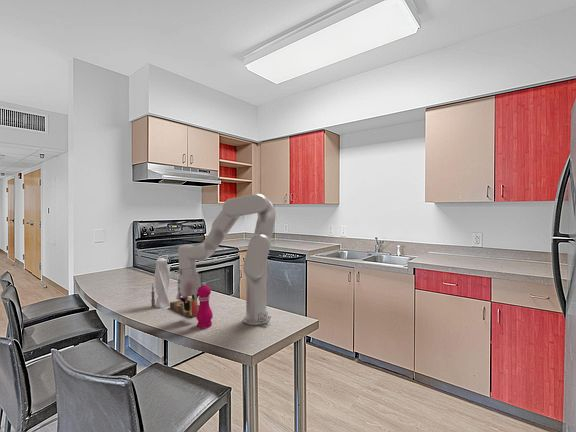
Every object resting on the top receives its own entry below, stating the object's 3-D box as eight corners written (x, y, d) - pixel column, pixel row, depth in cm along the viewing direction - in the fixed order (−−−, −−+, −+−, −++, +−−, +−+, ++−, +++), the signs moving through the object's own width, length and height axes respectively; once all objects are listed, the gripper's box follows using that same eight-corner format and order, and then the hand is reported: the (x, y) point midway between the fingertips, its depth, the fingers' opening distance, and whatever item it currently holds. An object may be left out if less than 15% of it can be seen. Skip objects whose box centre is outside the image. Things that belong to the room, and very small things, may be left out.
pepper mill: (206, 321, 146) (205, 279, 145) (216, 325, 141) (215, 282, 140) (193, 326, 140) (192, 282, 139) (202, 330, 135) (201, 285, 135)
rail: (205, 313, 156) (205, 307, 156) (191, 318, 150) (191, 312, 150) (183, 304, 171) (183, 299, 171) (170, 308, 165) (169, 302, 165)
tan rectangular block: (198, 313, 145) (197, 299, 144) (192, 315, 142) (191, 301, 142) (189, 310, 150) (188, 296, 150) (183, 312, 148) (182, 298, 148)
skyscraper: (164, 302, 174) (162, 253, 173) (173, 305, 170) (172, 255, 169) (150, 307, 167) (149, 256, 166) (160, 309, 163) (159, 257, 162)
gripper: (175, 275, 137) (178, 316, 138) (207, 268, 149) (209, 306, 150) (167, 273, 142) (170, 313, 143) (198, 267, 154) (201, 303, 155)
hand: (190, 309), depth 146 cm, fingers closed on tan rectangular block, 3 cm apart
